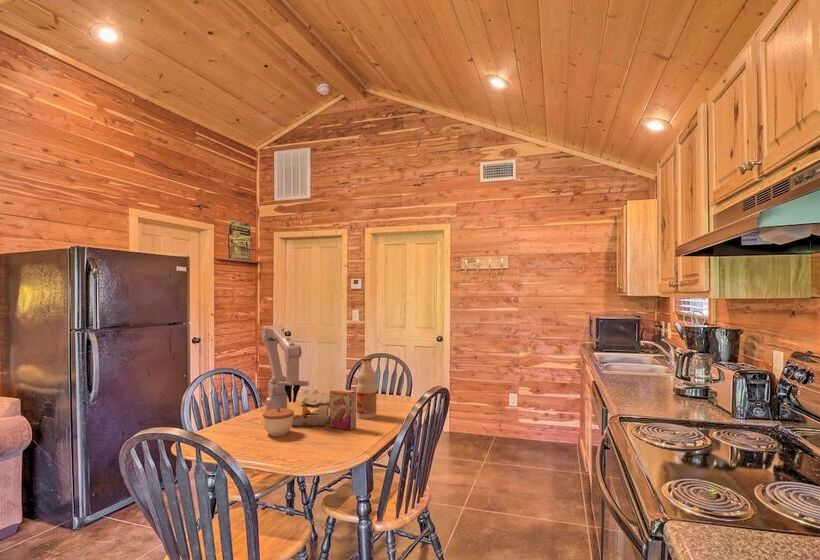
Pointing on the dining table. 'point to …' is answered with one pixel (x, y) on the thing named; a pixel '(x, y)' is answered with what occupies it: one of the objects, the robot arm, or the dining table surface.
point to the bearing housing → (314, 419)
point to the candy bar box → (343, 409)
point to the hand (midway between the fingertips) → (292, 401)
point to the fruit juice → (366, 390)
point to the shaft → (308, 412)
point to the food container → (314, 398)
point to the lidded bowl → (278, 421)
